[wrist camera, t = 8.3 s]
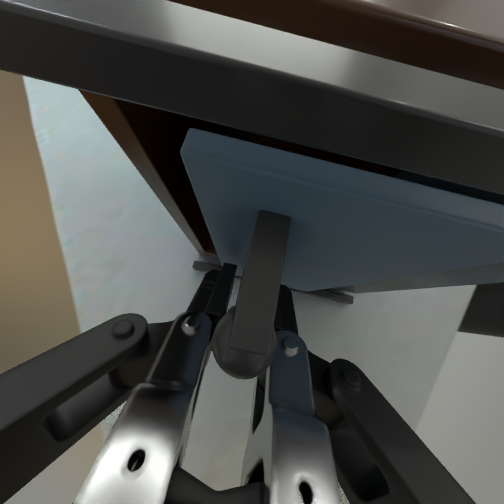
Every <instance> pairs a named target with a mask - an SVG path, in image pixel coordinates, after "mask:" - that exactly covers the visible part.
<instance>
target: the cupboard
mask: <svg viewBox="0 0 504 504" xmlns="http://www.w3.org/2000/svg"><path fill="white" fill-rule="evenodd" d="M0 70H3V71H7V72H11V73H15V74H19V75H23V76H27V77H31V78H35V79H39V80H43V81H47V82H51V83H55V84H59V85H63V86H67V87H71V88H75V89H78V90H79V91H80V93H81V94H82V95H83V97H84V98H85V99H86V101H87V102H88V103H89V105H90V106H91V108H92V109H93V110H94V112H95V113H96V114H97V116H98V117H99V118H100V120H101V121H102V122H103V124H104V125H105V126H106V128H107V129H108V131H109V132H110V133H111V135H112V136H113V137H114V139H115V140H116V141H117V143H118V144H119V145H120V147H121V148H122V150H123V151H124V152H125V154H126V155H127V156H128V158H129V159H130V160H131V162H132V163H133V164H134V166H135V167H136V169H137V170H138V171H139V173H140V174H141V175H142V177H143V178H144V179H145V181H146V182H147V183H148V185H149V186H150V187H151V189H152V190H153V192H154V193H155V194H156V196H157V197H158V198H159V200H160V201H161V202H162V204H163V205H164V206H165V208H166V209H167V211H168V212H169V213H170V215H171V216H172V217H173V219H174V220H175V221H176V223H177V224H178V225H179V227H180V228H181V230H182V231H183V232H184V234H185V235H186V236H187V238H188V239H189V240H190V242H191V243H192V244H193V246H194V247H195V248H196V250H197V251H198V253H200V254H205V255H209V256H213V257H218V254H217V252H216V249H215V246H214V244H213V241H212V238H211V236H210V233H209V230H208V227H207V225H206V222H205V219H204V217H203V214H202V211H201V209H200V206H199V203H198V200H197V198H196V195H195V192H194V190H193V187H192V184H191V182H190V179H189V176H188V173H187V171H186V168H185V165H184V163H183V160H182V157H181V154H180V150H181V147H182V145H183V142H184V140H185V137H186V135H187V132H188V130H189V129H190V128H195V129H199V130H203V131H207V132H211V133H215V134H219V135H223V136H227V137H231V138H235V139H239V140H243V141H248V142H252V143H256V144H260V145H264V146H268V147H272V148H276V149H280V150H284V151H288V152H292V153H296V154H300V155H304V156H308V157H312V158H316V159H320V160H324V161H328V162H332V163H336V164H341V165H345V166H349V167H353V168H357V169H361V170H365V171H369V172H373V173H377V174H381V175H385V176H389V177H393V178H397V179H401V180H405V181H409V182H413V183H417V184H421V185H425V186H430V187H434V188H438V189H442V190H446V191H450V192H454V193H458V194H462V195H466V196H470V197H474V198H478V199H482V200H486V201H490V202H494V203H498V204H502V205H504V0H0ZM218 258H219V257H218ZM193 268H194V269H197V270H201V271H205V272H209V271H210V270H212V269H215V270H220V271H221V269H222V266H217V265H213V264H209V263H204V262H200V261H194V264H193ZM235 278H236V279H241V278H242V277H239V276H235ZM501 282H504V262H502V263H496V264H489V265H482V266H476V267H469V268H462V269H455V270H449V271H442V272H435V273H429V274H422V275H415V276H409V277H402V278H395V279H388V280H382V281H375V282H368V283H362V284H355V285H348V286H342V287H335V289H339V290H343V291H348V292H352V293H367V292H381V291H394V290H407V289H421V288H434V287H448V286H461V285H474V284H488V283H501ZM289 290H290V291H294V292H298V293H303V294H307V295H312V296H316V297H321V298H325V299H329V300H334V301H338V302H343V303H347V304H353V296H350V295H345V294H341V293H336V292H332V291H328V290H323V289H321V290H315V291H308V292H306V291H301V290H297V289H292V288H289Z"/></svg>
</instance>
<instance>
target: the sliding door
mask: <svg viewBox="0 0 504 504" xmlns="http://www.w3.org/2000/svg"><path fill="white" fill-rule="evenodd" d="M180 154H181V157H182V160H183V163H184V165H185V168H186V171H187V173H188V176H189V179H190V182H191V184H192V187H193V190H194V192H195V195H196V198H197V200H198V203H199V206H200V209H201V211H202V214H203V217H204V219H205V222H206V225H207V227H208V230H209V233H210V236H211V238H212V241H213V244H214V246H215V249H216V252H217V254H218V257H219V260H220V263H221V265H222V266H223V264H224V262H226V263H231V264H235V265H237V270H236V274H235V276H239V277H242V278H241V283H240V287H239V291H238V296H237V300H236V304H235V305H234V306H233V307H231V308H230V309H229V310H228V311H227V313H226V314H225V315H224V316H223V317H222V318H221V320H220V321H219V322H218V324H217V326H216V328H215V331H214V334H213V340H212V349H213V354H214V357H215V360H216V362H217V364H218V365H219V366H220V368H221V369H222V370H223V371H224V372H225V373H227V374H228V375H230V376H232V377H234V378H237V379H251V378H254V377H257V376H259V375H260V374H262V373H263V372H264V371H265V370H266V369H267V368H268V367H269V366H270V364H271V363H272V361H273V359H274V356H275V353H276V349H277V336H276V332H275V329H274V327H273V326H274V320H275V314H276V308H277V302H278V296H279V290H280V284H282V285H286V286H287V287H288V288H292V289H297V290H301V291H306V292H308V291H315V290H321V289H328V288H335V287H342V286H348V285H355V284H362V283H368V282H375V281H382V280H388V279H395V278H402V277H409V276H415V275H422V274H429V273H435V272H442V271H449V270H455V269H462V268H469V267H476V266H482V265H489V264H496V263H502V262H504V205H502V204H498V203H494V202H490V201H486V200H482V199H478V198H474V197H470V196H466V195H462V194H458V193H454V192H450V191H446V190H442V189H438V188H434V187H430V186H425V185H421V184H417V183H413V182H409V181H405V180H401V179H397V178H393V177H389V176H385V175H381V174H377V173H373V172H369V171H365V170H361V169H357V168H353V167H349V166H345V165H341V164H336V163H332V162H328V161H324V160H320V159H316V158H312V157H308V156H304V155H300V154H296V153H292V152H288V151H284V150H280V149H276V148H272V147H268V146H264V145H260V144H256V143H252V142H248V141H243V140H239V139H235V138H231V137H227V136H223V135H219V134H215V133H211V132H207V131H203V130H199V129H195V128H190V129H189V130H188V132H187V135H186V137H185V140H184V142H183V145H182V147H181V150H180Z"/></svg>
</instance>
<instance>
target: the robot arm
mask: <svg viewBox="0 0 504 504" xmlns="http://www.w3.org/2000/svg"><path fill="white" fill-rule="evenodd" d="M236 270H237V265H235V264H231V263H226V262H224V264H223V266H222V269H221V271H220V270H215V269H212V270H210V271H209V272H208V273H206V274H205V276H204V278H203V280H202V282H201V284H200V286H199V288H198V290H197V292H196V294H195V295H194V297H193V299H192V301H191V303H190V305H189V307H188V309H187V311H186V312H184V313H182V314H180V315H179V316H178V317H177V318H176V319H175V320H173V321H170V322H164V323H151V324H147V320H146V319H145V318H144V317H143V316H141V315H139V314H134V313H129V314H123V315H119V316H117V317H114V318H112V319H110V320H108V321H106V322H104V323H102V324H100V325H98V326H96V327H94V328H92V329H90V330H88V331H86V332H84V333H82V334H80V335H78V336H76V337H74V338H72V339H70V340H68V341H66V342H64V343H62V344H60V345H58V346H56V347H54V348H52V349H50V350H48V351H46V352H44V353H42V354H40V355H38V356H36V357H34V358H32V359H30V360H28V361H26V362H24V363H22V364H20V365H18V366H16V367H14V368H12V369H10V370H8V371H6V372H4V373H2V374H0V504H3V503H4V502H6V501H7V500H8V499H9V498H11V497H12V496H13V495H14V494H15V493H16V492H18V491H19V490H20V489H21V488H22V487H24V486H25V485H26V484H27V483H28V482H30V481H31V480H32V479H33V478H34V477H36V476H37V475H38V474H39V473H40V472H42V471H43V470H44V469H45V468H46V467H47V466H49V465H50V464H51V463H52V462H53V461H55V460H56V459H57V458H58V457H59V456H61V455H62V454H63V453H64V452H65V451H66V450H68V449H69V448H70V447H71V446H72V445H73V444H75V443H76V442H77V441H78V440H80V439H81V438H82V437H83V436H84V435H85V434H87V433H88V432H89V431H90V430H91V429H92V428H94V427H95V426H96V425H97V424H99V423H100V422H101V421H102V420H103V419H105V418H106V417H107V416H108V415H109V414H111V413H112V412H113V411H114V410H115V409H116V408H118V407H119V406H120V405H121V404H122V403H124V402H125V401H126V400H127V401H126V403H125V405H124V407H123V409H122V411H121V413H120V414H119V416H118V418H117V420H116V422H115V424H114V426H113V428H112V430H111V432H110V434H109V436H108V437H107V439H106V441H105V443H104V445H103V447H102V449H101V451H100V453H99V455H98V457H97V459H96V460H95V462H94V464H93V466H92V468H91V470H90V472H89V474H88V476H87V478H86V480H85V482H84V483H83V485H82V488H81V489H80V491H79V493H78V495H77V497H76V499H75V501H74V503H72V504H342V503H341V498H340V492H339V486H338V482H339V484H340V486H341V488H342V490H343V491H344V493H345V495H346V497H347V499H348V501H349V503H350V504H476V503H475V502H474V501H473V500H472V498H471V497H470V496H469V495H468V494H467V493H466V492H465V490H464V489H463V488H462V487H461V486H460V485H459V483H458V482H457V481H456V480H455V479H454V478H453V476H452V475H451V474H450V473H449V472H448V471H447V469H446V468H445V467H444V466H443V465H442V464H441V462H440V461H439V460H438V459H437V458H436V457H435V456H434V454H433V453H432V452H431V451H430V450H429V449H428V448H427V446H426V445H425V444H424V443H423V442H422V440H420V438H419V437H418V436H417V435H416V433H415V432H414V431H413V430H412V429H411V428H410V427H409V425H408V424H407V423H406V422H405V421H404V420H403V418H402V417H401V416H400V415H399V414H398V413H397V411H396V410H395V409H394V408H393V407H392V406H391V404H390V403H389V402H388V401H387V400H386V399H385V398H384V396H383V395H382V394H381V393H380V392H379V391H378V389H377V388H376V387H375V386H374V385H373V384H372V382H371V381H370V380H369V379H368V378H367V377H366V376H365V374H364V373H363V372H362V371H361V370H360V369H359V368H358V367H357V366H356V365H354V364H353V363H351V362H350V361H347V360H345V359H335V360H333V361H332V363H329V362H327V361H325V360H323V359H322V358H320V357H318V356H316V355H314V354H313V353H311V352H310V351H309V350H308V349H307V347H306V345H305V343H304V341H303V340H302V339H301V338H300V337H299V335H298V330H297V323H296V317H295V311H294V304H293V298H292V293H291V291H290V290H289V288H288V287H287V286H286V285H282V284H280V290H279V296H278V302H277V308H276V314H275V320H274V326H273V327H274V329H275V332H276V336H277V349H276V353H275V356H274V359H273V361H272V363H271V364H270V366H269V367H268V368H267V369H266V370H265V371H264V372H263V373H262V374H260V375H259V376H257V377H256V378H255V386H254V395H253V404H252V413H251V421H250V430H249V437H248V442H247V446H246V450H245V455H244V461H243V468H242V476H241V484H240V487H235V488H231V489H227V490H223V491H215V490H213V489H211V488H210V487H208V486H207V485H206V484H204V483H203V482H201V481H200V480H198V479H197V478H195V477H194V476H192V475H191V474H189V473H188V472H186V471H185V470H183V469H182V465H183V461H184V457H185V452H186V448H187V443H188V439H189V434H190V429H191V424H192V420H193V416H194V412H195V408H196V404H197V399H198V395H199V391H200V387H201V383H202V379H203V374H204V370H205V367H206V365H207V362H208V359H209V355H210V352H211V351H213V349H212V340H213V334H214V331H215V328H216V326H217V324H218V322H219V321H220V320H221V318H222V317H223V316H224V315H225V314H226V312H227V308H228V304H229V301H230V297H231V293H232V289H233V284H234V279H235V274H236ZM299 491H300V492H301V494H302V497H303V501H302V500H301V498H300V495H299Z"/></svg>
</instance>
